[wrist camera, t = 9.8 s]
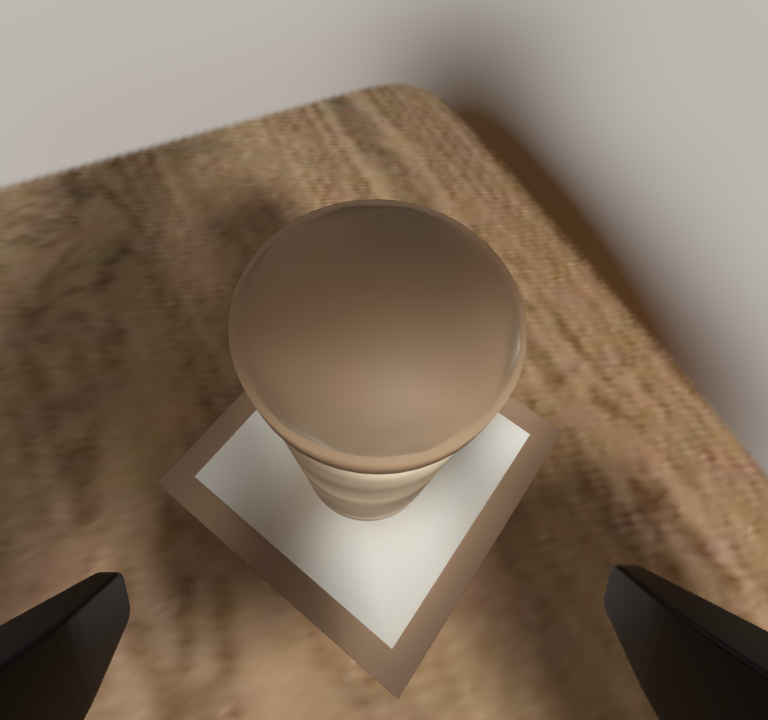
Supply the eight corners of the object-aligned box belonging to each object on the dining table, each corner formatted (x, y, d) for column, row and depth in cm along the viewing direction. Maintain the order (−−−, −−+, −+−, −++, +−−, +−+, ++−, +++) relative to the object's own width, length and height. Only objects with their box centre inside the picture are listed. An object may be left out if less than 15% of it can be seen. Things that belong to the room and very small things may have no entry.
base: (536, 448, 21) (564, 430, 18) (392, 678, 18) (398, 701, 15) (348, 315, 24) (346, 280, 21) (184, 494, 20) (154, 481, 17)
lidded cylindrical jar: (455, 480, 17) (588, 366, 7) (342, 551, 16) (316, 531, 6) (389, 375, 19) (424, 164, 9) (281, 433, 18) (181, 266, 8)
